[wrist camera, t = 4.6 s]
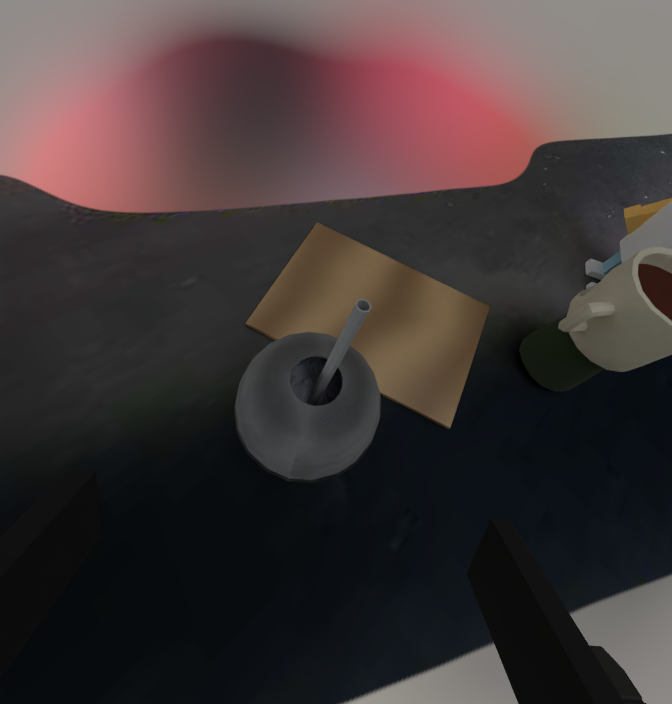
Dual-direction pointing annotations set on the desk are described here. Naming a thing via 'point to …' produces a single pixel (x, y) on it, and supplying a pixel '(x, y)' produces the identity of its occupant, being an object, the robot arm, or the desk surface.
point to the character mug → (607, 325)
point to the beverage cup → (309, 404)
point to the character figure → (638, 236)
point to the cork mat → (380, 319)
